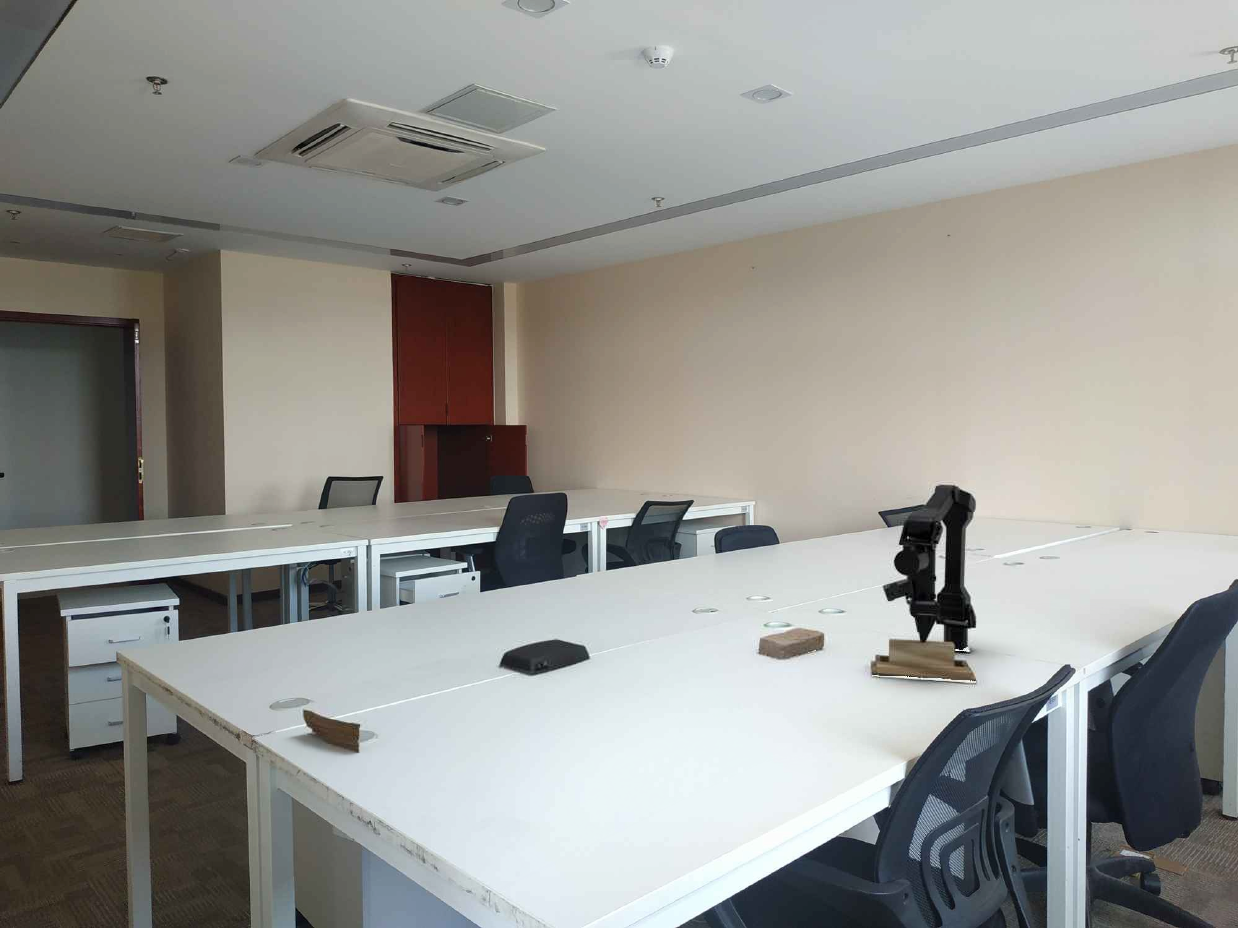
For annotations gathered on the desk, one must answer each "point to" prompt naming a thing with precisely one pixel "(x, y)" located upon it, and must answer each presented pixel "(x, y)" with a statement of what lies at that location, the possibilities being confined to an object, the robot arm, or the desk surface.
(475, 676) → the desk surface
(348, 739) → the wood plank
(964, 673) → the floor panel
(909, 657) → the oak plank
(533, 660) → the external hard drive
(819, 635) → the brick
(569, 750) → the desk surface
